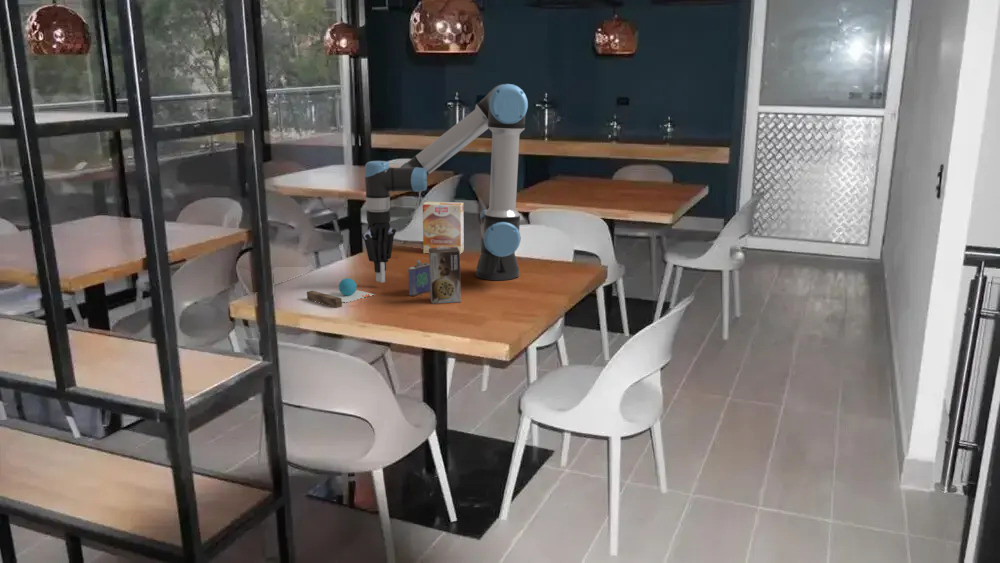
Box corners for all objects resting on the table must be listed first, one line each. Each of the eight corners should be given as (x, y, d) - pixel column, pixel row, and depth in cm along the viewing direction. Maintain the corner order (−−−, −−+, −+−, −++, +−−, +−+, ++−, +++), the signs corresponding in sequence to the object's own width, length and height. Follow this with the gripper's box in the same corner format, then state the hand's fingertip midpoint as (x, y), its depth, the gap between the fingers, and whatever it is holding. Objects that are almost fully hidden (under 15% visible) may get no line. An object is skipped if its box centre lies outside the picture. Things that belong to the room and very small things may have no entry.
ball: (357, 298, 256) (362, 281, 256) (344, 295, 251) (349, 278, 252) (346, 295, 259) (350, 278, 259) (333, 292, 255) (337, 275, 255)
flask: (412, 296, 255) (411, 263, 252) (406, 295, 257) (405, 262, 254) (433, 291, 262) (432, 258, 259) (426, 289, 263) (426, 257, 261)
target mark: (374, 295, 256) (374, 294, 256) (345, 303, 247) (345, 302, 247) (349, 288, 264) (349, 288, 264) (320, 296, 255) (320, 295, 255)
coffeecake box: (423, 253, 315) (422, 203, 310) (426, 249, 322) (425, 201, 317) (461, 254, 314) (460, 204, 309) (464, 251, 320) (463, 201, 316)
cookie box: (458, 297, 255) (458, 246, 251) (461, 302, 249) (460, 251, 245) (429, 298, 253) (428, 247, 249) (431, 303, 247) (430, 252, 243)
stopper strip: (341, 306, 244) (341, 298, 243) (336, 307, 242) (336, 299, 242) (312, 298, 253) (312, 290, 252) (307, 299, 251) (306, 291, 250)
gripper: (385, 206, 267) (387, 275, 273) (354, 211, 257) (357, 283, 263) (401, 208, 262) (403, 279, 268) (370, 213, 253) (373, 287, 258)
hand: (380, 281), depth 266 cm, fingers closed
